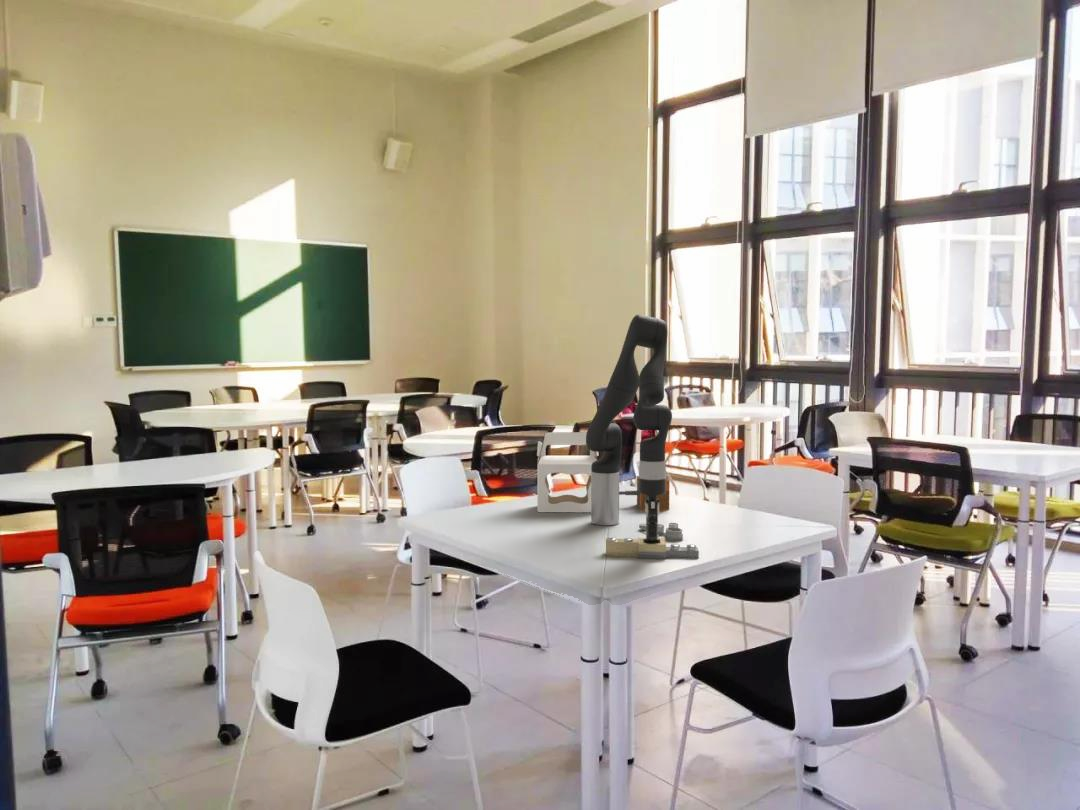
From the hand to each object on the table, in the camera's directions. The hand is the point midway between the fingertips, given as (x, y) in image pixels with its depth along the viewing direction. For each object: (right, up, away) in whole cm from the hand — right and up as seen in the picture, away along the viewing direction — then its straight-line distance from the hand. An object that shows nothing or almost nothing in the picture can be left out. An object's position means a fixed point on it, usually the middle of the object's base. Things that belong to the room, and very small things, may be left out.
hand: (651, 533), depth 226 cm
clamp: (+5, -2, +69) cm, 69 cm away
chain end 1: (-4, -6, +1) cm, 8 cm away
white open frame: (-21, -2, +66) cm, 69 cm away
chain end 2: (+4, -6, 0) cm, 8 cm away
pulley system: (+5, -5, +21) cm, 22 cm away
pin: (0, -6, 0) cm, 6 cm away
